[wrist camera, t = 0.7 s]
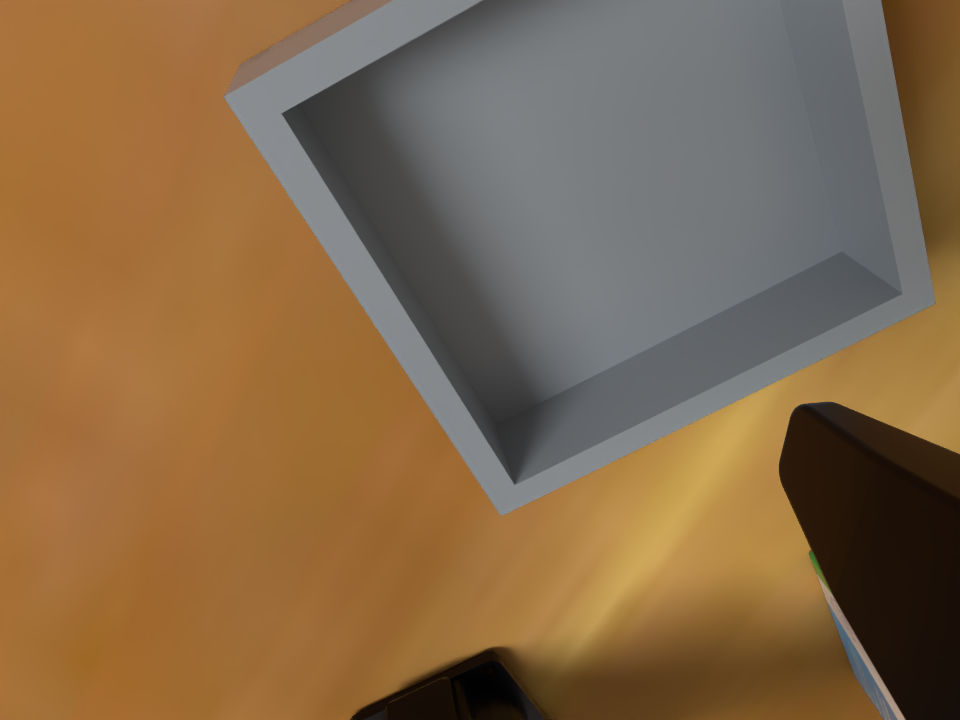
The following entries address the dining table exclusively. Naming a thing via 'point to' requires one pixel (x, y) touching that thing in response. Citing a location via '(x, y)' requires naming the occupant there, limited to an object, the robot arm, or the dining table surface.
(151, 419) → the dining table surface
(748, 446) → the dining table surface
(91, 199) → the dining table surface
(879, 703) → the milk carton
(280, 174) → the slate bin
